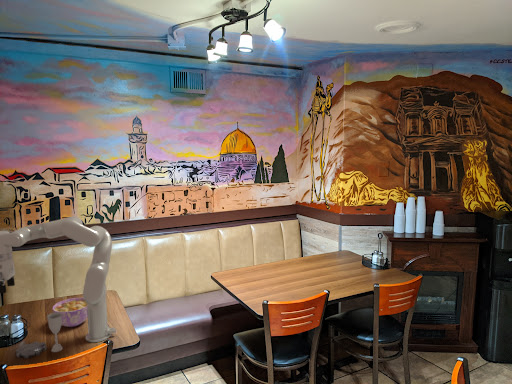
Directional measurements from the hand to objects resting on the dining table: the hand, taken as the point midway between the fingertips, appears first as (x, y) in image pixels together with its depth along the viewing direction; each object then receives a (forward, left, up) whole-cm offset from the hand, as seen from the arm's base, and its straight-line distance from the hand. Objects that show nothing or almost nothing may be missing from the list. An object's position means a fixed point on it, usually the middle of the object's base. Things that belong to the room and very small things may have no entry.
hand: (6, 289), depth 189 cm
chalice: (-23, +8, -31) cm, 39 cm away
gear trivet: (-11, +7, -31) cm, 33 cm away
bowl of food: (-24, -20, -31) cm, 44 cm away
